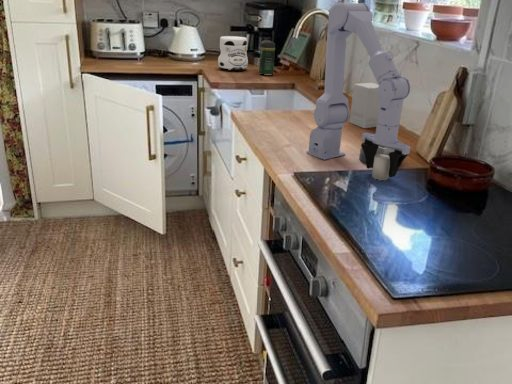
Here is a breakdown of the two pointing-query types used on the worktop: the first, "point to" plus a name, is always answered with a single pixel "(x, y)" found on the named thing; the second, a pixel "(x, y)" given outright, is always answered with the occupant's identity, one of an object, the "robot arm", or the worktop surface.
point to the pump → (381, 167)
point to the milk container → (233, 53)
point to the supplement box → (365, 105)
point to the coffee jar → (267, 57)
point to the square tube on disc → (379, 151)
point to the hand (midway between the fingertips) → (380, 171)
